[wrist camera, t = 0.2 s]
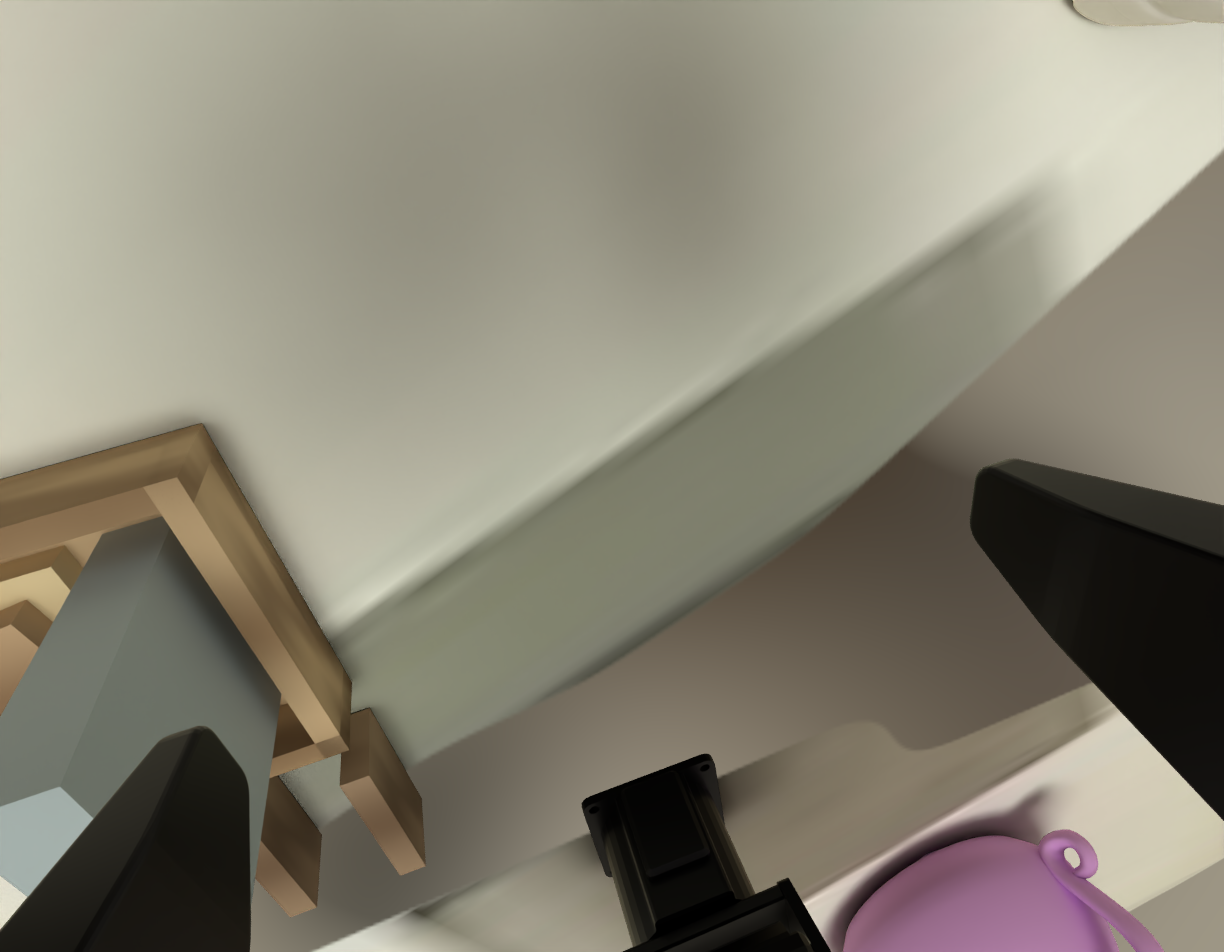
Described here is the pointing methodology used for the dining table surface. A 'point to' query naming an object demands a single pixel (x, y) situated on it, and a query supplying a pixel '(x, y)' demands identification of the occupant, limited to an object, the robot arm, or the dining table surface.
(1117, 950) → the teapot
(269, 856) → the holder
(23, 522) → the tray
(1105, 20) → the water bottle
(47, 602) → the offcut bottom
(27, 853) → the grey rectangular slab
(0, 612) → the offcut top
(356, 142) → the dining table surface
